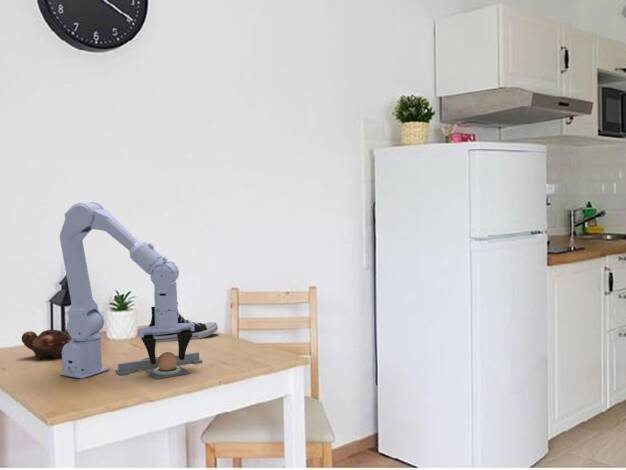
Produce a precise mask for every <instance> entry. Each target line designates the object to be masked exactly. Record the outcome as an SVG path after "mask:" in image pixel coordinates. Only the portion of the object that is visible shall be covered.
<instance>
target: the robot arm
mask: <svg viewBox="0 0 626 470" xmlns="http://www.w3.org/2000/svg"><path fill="white" fill-rule="evenodd" d="M92 230H97V231H103V232H106V233H107V234H108V235H110V237H112V238H113V239H114V240H116V241H117V242H118V243H119V244H120V245H122V246H123V247H124V248H126V250H128V252H129V258H130V259H131V260H132V261H133V262H134V263H135V264H136V265H137V266H139V268H141V269H142V270H143V271H144V272H145V273H146V274H147V275H149V276H150V277H149V278H150V281H151V282H152V283H153V285H154V287H153V288H154V292H153V293H154V294H153V295H154V298H153V299H154V307H155V326H151V327H149V326H148V327H147V326H146V327H142V328H137V337H138V338H139V339H140V338H141V339H140V340H141V341H142V342H143V344H144V347H145V349H146V351H147V353H148V354H147V355H148V358H150V363H151V364H155V363H156V358H155V357H156V345H157V342H156V339H154V337H153V335H161V334H169V333H176V332H177V337H178V340H177V341H178V342H177V343H178V355H179V359H181V360H184V357H185V354H186V351H187V349H188V346H189V342H191V340H192V339H191V337H192V332H190V331H195V328H194V323H195V322H194V323H192V322H193V321H191V323H178V316H177V309H178V307H177V302H178V291H177V289H178V288H177V279H178V278H179V276H180V271H179V270H180V269H179V268H178V266H177V265H176V264H175V262H173V261H170V260H169V261H168V258H167V257H166V256H163V255H161V254H160V253H159V252H158V251H157V250H156V249H155V245H154V244H153V243H152V242H149V243H148V242H147V241H139V240H138V239H137V238H136V237H135V236H134V235H132V232H131V231H130V232H129V230H127V228H126V227H125V226H123V224H122V223H120V221H119V220H118V219H116V217H114V215H113V214H112V213H111V212H110V211H109V210H108V209H106V208H104V207H103V206H102V205H101V204H100V203H98V202H94V201H93V202H85V203H83V202H77V203H75V204H73V205H71V206H70V207H69V208H68V209H67V211H66V212H65V213H64V221H63V224H62V228H61V231H60V233H59V241H60V246H61V253H62V257H63V258H62V259H63V264H64V269H65V276H66V280H67V287H68V291H69V297H70V302H71V303H70V307H69V309H68V312H67V315H68V320H67V324H66V325H67V326H66V331H67V333H68V335H69V336H70V338H71V339H72V340H71V341H70V342H69V343H67V344H65V345H64V347H63V349H62V352H61V359H62V360H61V365H62V367H61V368H62V372H60V375H61V376H66V377H69V378H70V377H71V378H77V379H85V378H88V377H91V376H94V375H97V374H99V373H103V372H106V371H109V370H110V367H108V366H107V367H106V366H103V364H102V362H103V361H102V359H103V357H102V355H103V354H102V335H101V330H102V329H103V327H104V324H105V320H104V316H103V314H102V313H101V312H100V310H99V306H98V304H97V303H96V301H95V300H94V299H93V298H94V297H93V293H92V287H91V286H92V285H91V282H90V277H89V271H88V265H87V259H86V254H85V247H84V242H83V241H84V239H85V238H86V237H87V235H88V234H89V233H90V232H91V231H92Z"/></svg>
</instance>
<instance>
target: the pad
mask: <svg viewBox="0 0 626 470" xmlns="http://www.w3.org/2000/svg"><path fill="white" fill-rule="evenodd" d="M144 371H145V372H146V373H147V374H148V373H149V376H151V377H152V376H153V377H152V378H154V379H155V380H162V379H167V378H174V377H179V376H186V375H191V371H188V370H187V369H185V368H184V367H182V366H180V365H176V367H175V368H174V369H173V370H172V371H169V372H165V371H162V370H161V369H160V368H159V367H158V368H155V369H148V370H144Z"/></svg>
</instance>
